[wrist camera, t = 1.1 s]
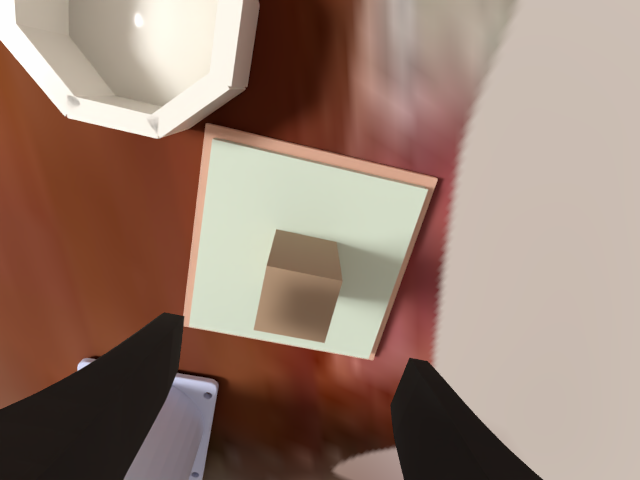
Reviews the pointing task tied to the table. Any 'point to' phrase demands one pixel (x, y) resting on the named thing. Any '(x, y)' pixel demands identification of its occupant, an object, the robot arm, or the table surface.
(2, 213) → the table surface
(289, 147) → the peach square plate
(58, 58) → the bowl
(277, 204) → the lid
